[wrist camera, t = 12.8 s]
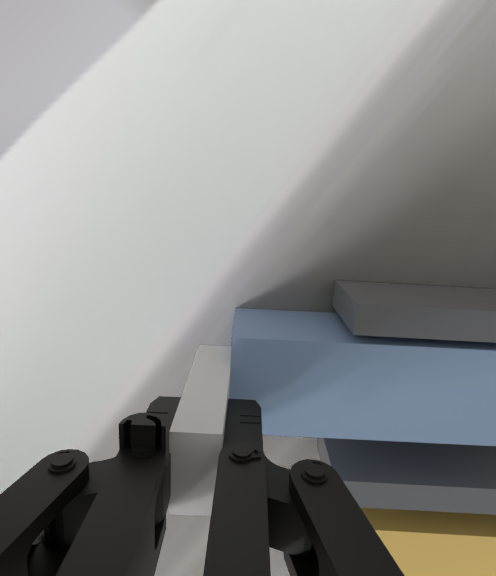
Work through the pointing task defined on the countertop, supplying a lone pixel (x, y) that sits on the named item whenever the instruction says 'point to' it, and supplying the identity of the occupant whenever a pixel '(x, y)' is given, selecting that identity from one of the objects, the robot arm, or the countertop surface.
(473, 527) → the bar ochre
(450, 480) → the comb rack
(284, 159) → the countertop surface
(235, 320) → the bar blue
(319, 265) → the countertop surface
